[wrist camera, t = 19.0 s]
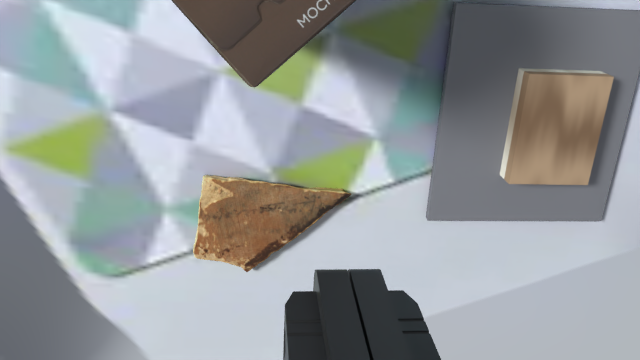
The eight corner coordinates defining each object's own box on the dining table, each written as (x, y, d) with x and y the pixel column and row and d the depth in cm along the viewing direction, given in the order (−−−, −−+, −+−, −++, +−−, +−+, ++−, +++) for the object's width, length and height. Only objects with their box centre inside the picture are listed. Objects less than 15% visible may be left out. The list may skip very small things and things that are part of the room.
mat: (453, 2, 40) (456, 3, 40) (649, 10, 42) (654, 11, 41) (425, 217, 46) (427, 220, 46) (597, 217, 48) (601, 220, 47)
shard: (348, 186, 45) (352, 195, 44) (329, 272, 48) (332, 284, 46) (203, 166, 44) (201, 175, 42) (193, 257, 46) (190, 269, 45)
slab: (529, 74, 40) (614, 76, 41) (518, 68, 42) (600, 70, 42) (508, 184, 43) (587, 184, 44) (499, 174, 45) (575, 175, 45)
